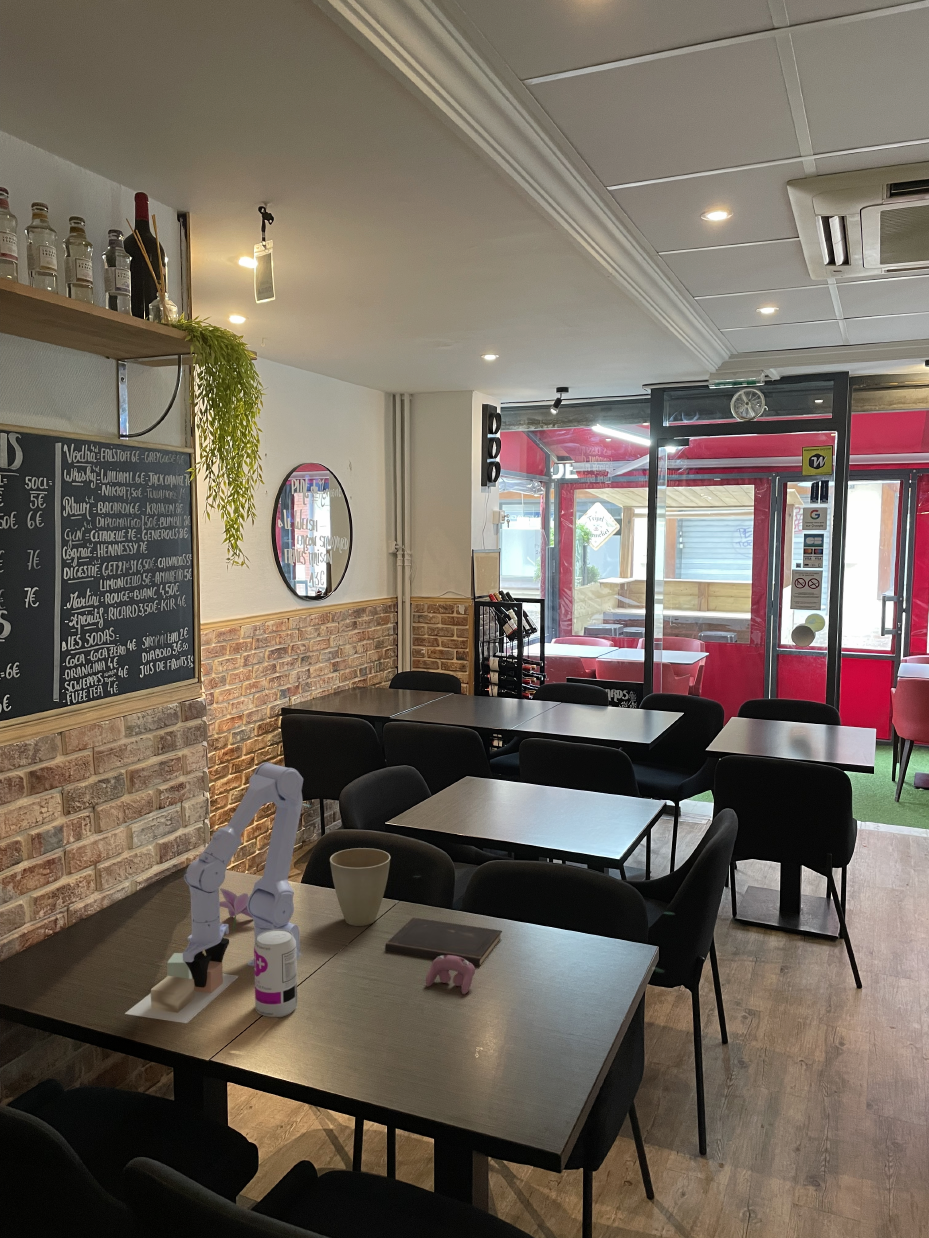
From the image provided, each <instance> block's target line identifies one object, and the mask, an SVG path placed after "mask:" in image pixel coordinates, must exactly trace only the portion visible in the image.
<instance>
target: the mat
mask: <svg viewBox="0 0 929 1238" xmlns="http://www.w3.org/2000/svg"><path fill="white" fill-rule="evenodd" d="M239 977H240V976H239V975H236V974H235V975H233V974H229V973H228V974H226V973H223V983H222V984H221V985H220V986H219V987H218V988H217V989H216V990H215V991H213V992H212V993H206V992H199V991H194V999H193V1000H192V1001H191V1002H190V1003H188V1004H187V1005H186V1006H185V1007H184V1008H183V1009H181V1010H180V1011H179V1012H178V1013H176V1012H169V1011H162V1010H156V1009H151V992H150V993H149V994H148V995H146V996H145V997H144V998H142V1000H140V1001H139V1002H137V1003H136V1004H135V1005H134V1006H132V1007H131V1008H129V1010H127V1011H126V1012H125V1013H124V1015H129V1016H135V1017H136V1016H137V1017H143V1018H149V1019H156V1020H157V1019H158V1020H161V1021H162V1020H164V1021H169V1022H176V1023H181V1024H189V1022H190V1021H191V1020H192V1019H194V1017H196V1016H197V1015H198V1014H199V1013H200V1012H201V1011H203V1010H204V1009H205V1008H206V1007H207V1006H208V1005H209V1004H210V1003H211V1002H213V1000H215V999H216V998H217V997H218V996H219V995H220V994H222V992H224V990H226V989H227V988H228V987H229V986H230V985H232V983H234V982H235V981H236V980H237V979H238V978H239Z"/></svg>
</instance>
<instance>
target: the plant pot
mask: <svg viewBox="0 0 929 1238" xmlns="http://www.w3.org/2000/svg"><path fill="white" fill-rule="evenodd" d="M329 862H330V871H331V877H332V881H333V885H334V889H335V895H336V897H337V901H338V905H339V908H340V910H341V913H342V915H343V918H344V921H345V923H346V924H348V925H351V926H354V927H357V926H358V927H362V926H363V927H365V926H369V925H371V924H373V923H374V922H375V921H376V919H377V916H378V914H379V911H380V908H381V905H382V901H383V897H384V895H385V891H386V886H387V882H388V877H389V871H390V865H391V864H390V863H391V855H390V853H388V852H386V851H384V850H381V849H377V848H366V847H363V848H361V847H358V848H350V849H349V848H348V849H344V850H339V851H338V852H335V853H333V854H332V855H331V856H330V858H329Z"/></svg>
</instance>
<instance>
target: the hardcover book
mask: <svg viewBox="0 0 929 1238" xmlns="http://www.w3.org/2000/svg"><path fill="white" fill-rule="evenodd" d="M502 933H503V930H500V929H493V928H487V927H486V928H485V927H481V926H474V925H466V924H460V923H452V922H446V921H440V920H433V919H426V918H420V917H411V919H410V920H409V921H408V922H406V924H404V925H403V926H402V927H401V928H400V929H399V930H398V931H397V932H396V933H395V934H394V935H393V936H392V937H391V938H389V940H388V941H386V943H385V945H384V947H385V948H384V950H385V952H386V953H392V954H393V953H394V954H398V955H404V956H411V957H417V958H424V959H430V960H433V961H434V960H435V959H436V958H437V957H438V956H445V955H453V956H458V957H461V958H464V959H465V960H467V961H468V962H470V963H471V964H473V966H474V967H477V968H480V967H481V964H482V963H483V962H484V960H486V958H487V957H488V955H489V954H490V953H491V951H492V950H493V949H494V948H495V946H496V945H497V943H499V941H500V939H501V934H502Z"/></svg>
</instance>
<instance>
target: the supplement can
mask: <svg viewBox="0 0 929 1238" xmlns="http://www.w3.org/2000/svg"><path fill="white" fill-rule="evenodd" d="M253 958H254V966H253V967H254V968H253V969H254V993H255V994H254V997H255V998H254V999H255V1000H254V1001H255V1004H254V1005H255V1011H256V1012H257V1013H258V1014H259V1015H262V1016H264V1017H267V1018H268V1017H270V1018H274V1017H275V1018H276V1017H277V1018H279V1019H280V1018H282V1017H286V1016H288V1015H290V1014H292V1012H293V1011H294V1010H295V1009H296V1008H297V1007H298V969H297V967H298V966H297V963H298V962H297V960H296V940H295V939H294V937H293V934H292V933H291V932H290V931H288V930H283V929H275V930H269V931H265V932H263V933H261V934H260V935H259V936H258V937H257V940H256V942H255V941H254V946H253Z"/></svg>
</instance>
